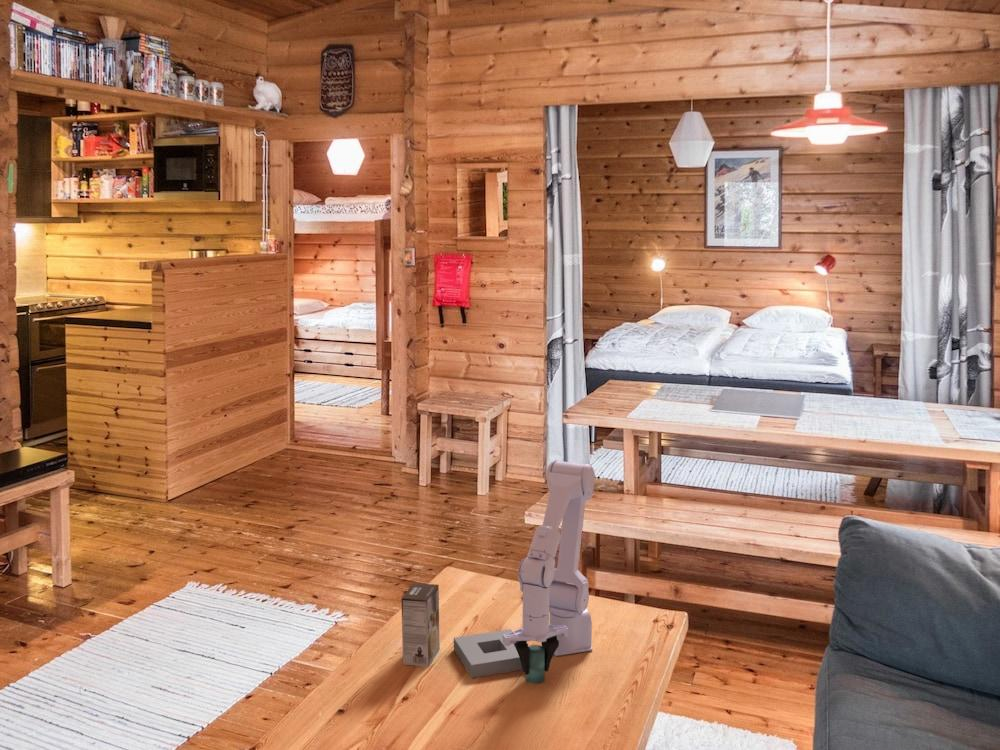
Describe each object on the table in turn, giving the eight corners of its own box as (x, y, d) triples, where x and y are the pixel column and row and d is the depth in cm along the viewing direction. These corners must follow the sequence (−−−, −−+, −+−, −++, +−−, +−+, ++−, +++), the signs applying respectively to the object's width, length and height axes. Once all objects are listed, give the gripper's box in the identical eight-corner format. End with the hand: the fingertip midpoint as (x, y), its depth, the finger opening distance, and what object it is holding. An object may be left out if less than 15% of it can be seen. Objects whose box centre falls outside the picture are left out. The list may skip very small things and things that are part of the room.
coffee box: (413, 646, 214) (412, 581, 211) (440, 649, 213) (439, 584, 210) (401, 665, 205) (400, 597, 203) (429, 667, 204) (428, 599, 201)
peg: (540, 673, 201) (540, 643, 200) (547, 682, 198) (547, 651, 197) (523, 676, 200) (523, 646, 199) (530, 685, 196) (530, 654, 195)
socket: (510, 641, 217) (510, 629, 217) (531, 667, 204) (531, 655, 203) (453, 649, 213) (453, 637, 212) (471, 677, 200) (471, 665, 199)
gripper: (510, 624, 190) (510, 684, 193) (574, 614, 195) (573, 674, 197) (499, 610, 197) (499, 669, 199) (561, 602, 202) (560, 659, 204)
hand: (535, 670), depth 199 cm, fingers closed on peg, 4 cm apart
